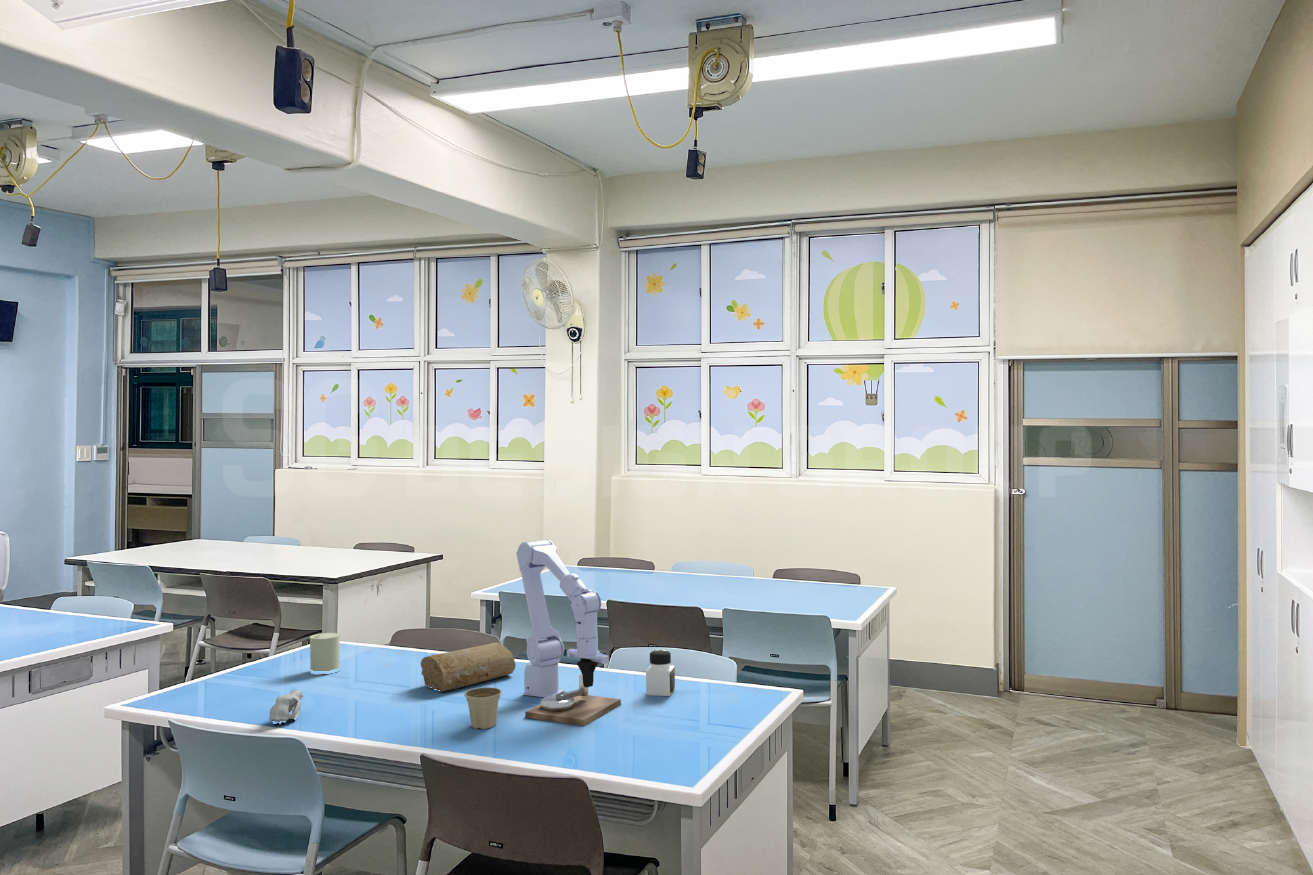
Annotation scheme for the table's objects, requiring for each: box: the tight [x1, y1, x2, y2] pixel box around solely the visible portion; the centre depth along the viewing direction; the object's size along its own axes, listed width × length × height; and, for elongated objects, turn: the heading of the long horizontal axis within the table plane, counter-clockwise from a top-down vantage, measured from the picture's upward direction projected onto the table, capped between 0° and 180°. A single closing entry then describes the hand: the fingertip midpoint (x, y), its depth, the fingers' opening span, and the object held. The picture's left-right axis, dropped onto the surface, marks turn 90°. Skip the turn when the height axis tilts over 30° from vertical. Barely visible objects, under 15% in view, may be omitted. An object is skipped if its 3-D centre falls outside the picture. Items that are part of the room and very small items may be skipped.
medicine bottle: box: [645, 649, 676, 697], centre depth 262 cm, size 7×7×12 cm
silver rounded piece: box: [540, 673, 589, 711], centre depth 247 cm, size 15×9×6 cm, turn 133°
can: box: [309, 632, 341, 671], centre depth 292 cm, size 9×9×12 cm
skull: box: [268, 689, 304, 722], centre depth 242 cm, size 8×9×12 cm
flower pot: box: [463, 687, 503, 730], centre depth 235 cm, size 9×9×9 cm
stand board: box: [524, 691, 622, 727], centre depth 246 cm, size 18×20×2 cm
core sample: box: [420, 642, 517, 692], centre depth 278 cm, size 14×26×10 cm, turn 138°
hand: (588, 686), depth 250 cm, fingers closed, pressing on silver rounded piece
